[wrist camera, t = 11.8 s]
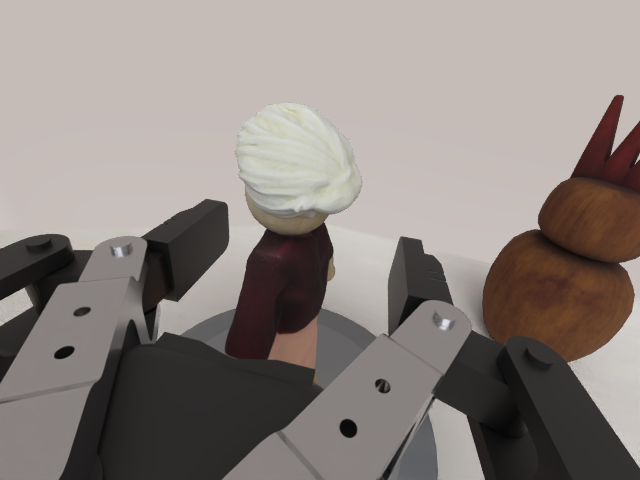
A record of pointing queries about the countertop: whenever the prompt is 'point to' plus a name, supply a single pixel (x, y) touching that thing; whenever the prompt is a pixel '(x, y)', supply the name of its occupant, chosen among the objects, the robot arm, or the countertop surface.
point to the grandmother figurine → (289, 229)
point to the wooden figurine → (574, 254)
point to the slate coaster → (331, 360)
